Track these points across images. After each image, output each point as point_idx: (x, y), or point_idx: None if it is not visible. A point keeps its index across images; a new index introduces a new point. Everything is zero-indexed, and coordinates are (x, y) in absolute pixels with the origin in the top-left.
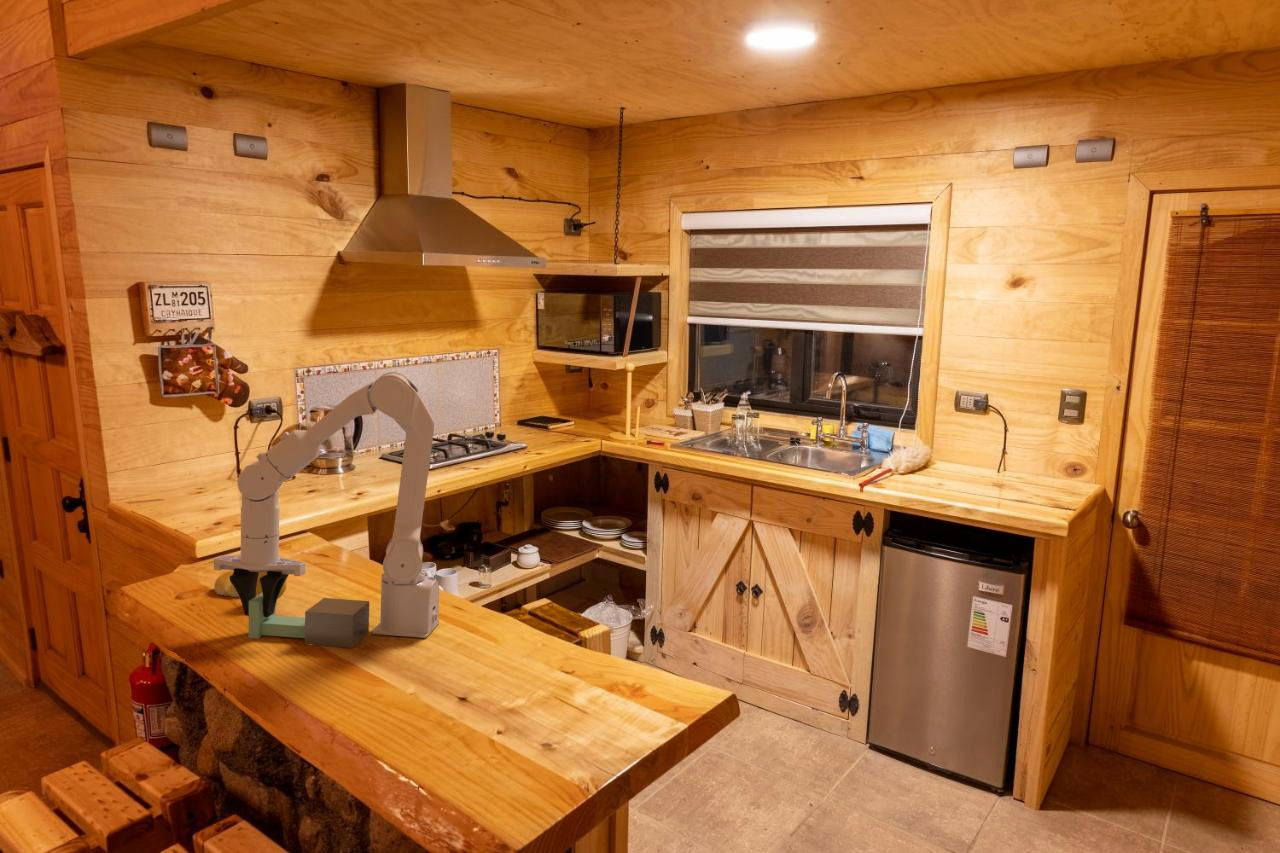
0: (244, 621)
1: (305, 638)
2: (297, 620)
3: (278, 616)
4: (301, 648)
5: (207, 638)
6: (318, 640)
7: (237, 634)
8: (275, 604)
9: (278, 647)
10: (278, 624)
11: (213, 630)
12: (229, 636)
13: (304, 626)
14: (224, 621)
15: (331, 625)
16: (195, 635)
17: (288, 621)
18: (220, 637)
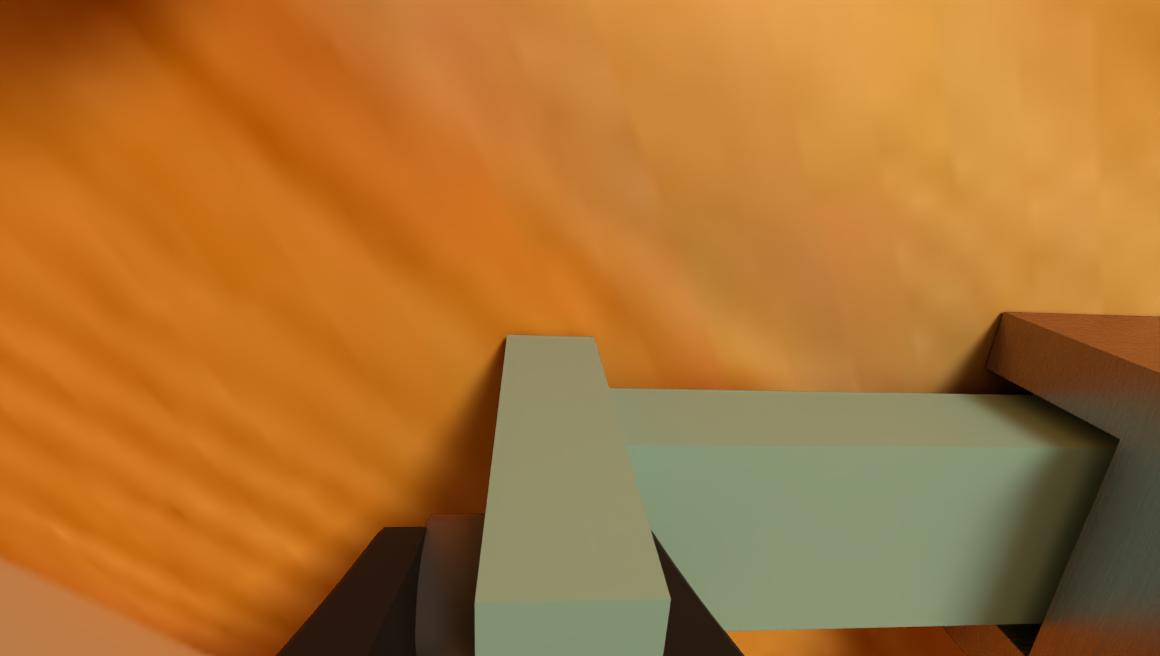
0: (234, 238)
1: (948, 628)
2: (889, 522)
3: (680, 469)
4: (904, 639)
5: (212, 619)
6: None
7: (376, 521)
8: (689, 589)
9: (761, 652)
10: (750, 628)
11: (129, 484)
12: (342, 563)
13: (974, 623)
14: (43, 270)
15: None
16: (77, 591)
17: (815, 559)
18: (291, 589)
